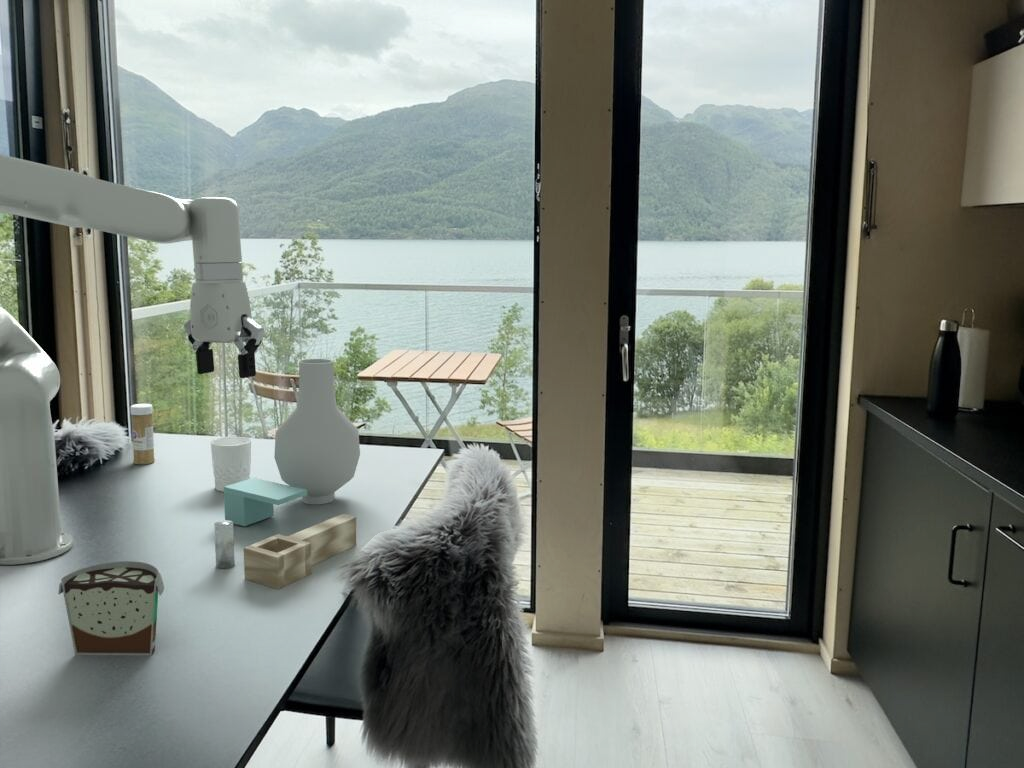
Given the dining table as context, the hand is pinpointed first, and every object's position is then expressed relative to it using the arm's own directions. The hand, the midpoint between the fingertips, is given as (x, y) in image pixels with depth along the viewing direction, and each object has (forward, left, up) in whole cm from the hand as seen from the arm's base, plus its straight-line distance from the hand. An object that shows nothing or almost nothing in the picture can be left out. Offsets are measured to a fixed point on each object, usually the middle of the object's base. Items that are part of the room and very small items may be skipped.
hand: (226, 374), depth 137 cm
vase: (+22, +1, -28) cm, 36 cm away
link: (-3, -20, -28) cm, 35 cm away
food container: (-35, -19, -29) cm, 49 cm away
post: (-11, -10, -28) cm, 32 cm away
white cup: (+18, +21, -29) cm, 40 cm away
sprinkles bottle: (+20, +52, -28) cm, 62 cm away
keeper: (+6, -2, -28) cm, 29 cm away
